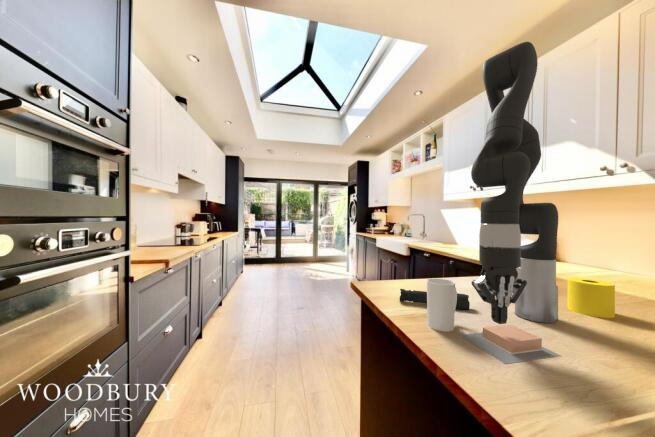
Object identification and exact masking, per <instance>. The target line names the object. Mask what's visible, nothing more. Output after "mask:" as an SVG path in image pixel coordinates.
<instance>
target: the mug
mask: <svg viewBox="0 0 655 437" xmlns="http://www.w3.org/2000/svg"><path fill="white" fill-rule="evenodd" d="M426 292H427V304H426V314H427V316H426V317H427V326H428V327H429V328H431V329H432V330H436V331H438V332H447V333H449V332H452V331H454V329H455V313H456V310H457V309H456V303H457V288H456V282H455V281H452V280H451V279H450V280H449V279H445V278H434V277H433V278H428V279H427V280H426Z"/></svg>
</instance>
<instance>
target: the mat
mask: <svg viewBox="0 0 655 437" xmlns="http://www.w3.org/2000/svg"><path fill="white" fill-rule="evenodd" d="M458 336H459V337H461V338H463V340H464V339H465V340H466V341H467V342H469V343H471V344H472V345H474V346H475V347H477V348H478V349H481V350H482V351H484V353H487V354H488V355H490V356H492V357H493V358H495V359H497V360H498V361H500V362H502V363H503V364H505V365H509V364H510V365H511V364H516V363H522V362H529V361H536V360H542V359H548V358H549V359H550V358H551V359H552V358H555V357H562V355H560V354H558V353H557V352H555V351H552V350H551V349H548V348H546V347H544V346H542V350H540V351H532V352H525V353H518V354H510V353H508V352H506V351H504V350H503V349H501V348H499V347H497V346H495V345H494V344H492V343H490V342H488V341H487V340H485V339H483V332H477V333H476V332H475V333H468V334H467V333H465V334H459V335H458Z"/></svg>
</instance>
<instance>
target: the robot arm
mask: <svg viewBox="0 0 655 437" xmlns="http://www.w3.org/2000/svg"><path fill="white" fill-rule="evenodd" d="M537 55H538V54H537V51H536V47H535V46H534V44H533V43H532V42H531V41H524V42H520V43H518V44H516V45H514V46H512V47H510V48H508V49H505V50H503V51H502V52H500V53H498V54H495V55H494V56H492V57H489V58H488V59H487V60H485V61H484V63H483V65H482V72H481V74H482V81H483V86H484V88H485V92H486V96H487V100H488V104H489V108H490V112H491V113H490V115H489V118H488V121H487V125H486V132H485V138H484V142H483V145H482V146H481V149H480V150H479V152H478V153H477V156H476V158H475V159H474V162H473V164H472V166H471V172H470V176H471V180H472V182H473V184H474V185H476V187H479V188H493V187H504V188H505V189H504V191H503V192H502V193H501V194H498V195H496V196H490V197H485V199H482V201H481V203H480V227H479V228H480V229H479V234H478V235H479V237H478V238H479V240H478V241H479V246H478V247H479V250H478V251H479V253H478V256H479V257H478V259H479V260H478V262H479V264H481V266H482V267H481V271H480V274H479V275H480V277H479V278H478V279H476V280H475V279H474V280H471V285H472V287H473V289H474V290H475V291H476V293H477V295H478V296H479V297H480V298H481V300H482V302H485V303H487V304H489V305H490V307H491V308H490V310H491V311H490V312H491V315H490V316H491V320H492V321H493V322H494V323H496V324H498V325H507V322H508V308H509V307H510V305H511V304H514V314H515V315H516V316H518V317H519V318H523V319H524V320H529V321H532V322H537V323H538V322H539V323H544V324H553V323H554V324H555V323H556V322H557V320H559V286H558V285H557V250H558V229H559V211H558V208H557V206H556V204H554V203H552V202H537V203H536V202H531V203H524V202H525V201H524V191H525V187H526V185H527V184H528V182H529V180H530V178H531V177H532V175H533V173H534V172H535V171H536V169H537V167H538V166H539V163H540V162H541V159H542V149H541V148H542V147H541V143H540V142H541V141H540V135H539V131H538V130H537V129H536V127H535V126H533V125H532V124H531V123H530V122H529V121H527V119H526V118H525V114H526V113H525V112H526V109H527V104H528V102H529V99H530V96H531V93H532V89H533V86H534V83H535V80H536V79H535V78H536V76H537V71H538V56H537ZM506 90H508V92H507V93H506V94H505V92H504V91H506ZM521 235H535V236H536V235H537V236H538V237H537V240H535V241H533V242H532V243H531V242H530V243H529V244H524V245H522V240H521V239H522V236H521Z"/></svg>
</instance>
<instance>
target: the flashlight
mask: <svg viewBox="0 0 655 437" xmlns="http://www.w3.org/2000/svg"><path fill="white" fill-rule="evenodd" d="M399 291H400V296H399V302H402V303H403V302H409V303H411V302H412V303H417V304H418V303H419V304H425V305H427V291H424V290H415V289H414V290H413V291H412V290H411V289H408V290H407V289H405V288H400V289H399ZM469 298H470V295H468V294H465V293H457V303H456V309H455V310H456V311H457V310H459V311H470V308H471V307H470V300H469Z"/></svg>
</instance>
